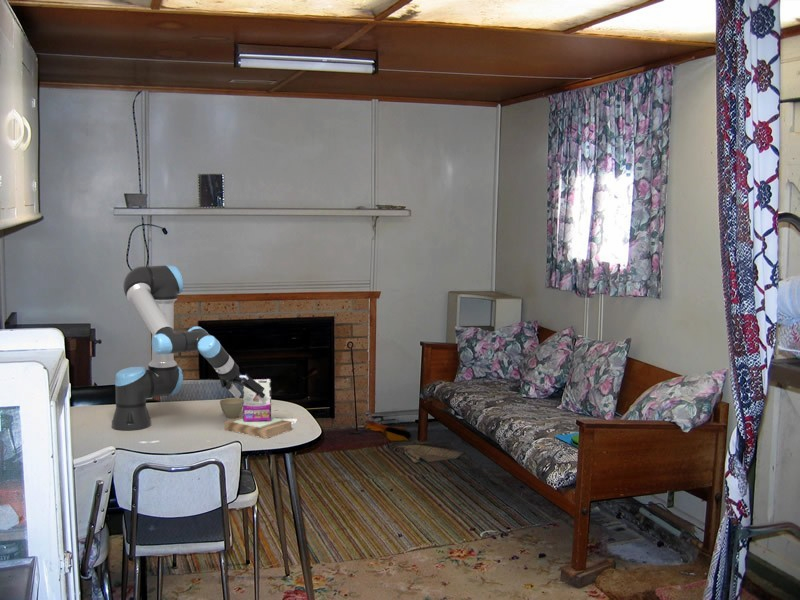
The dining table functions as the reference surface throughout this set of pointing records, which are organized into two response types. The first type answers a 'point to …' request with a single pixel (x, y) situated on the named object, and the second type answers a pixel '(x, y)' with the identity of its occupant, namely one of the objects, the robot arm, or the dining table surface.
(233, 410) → the flower pot
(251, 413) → the candy bar box
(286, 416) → the dining table surface
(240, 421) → the mat
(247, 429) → the brown flat block
